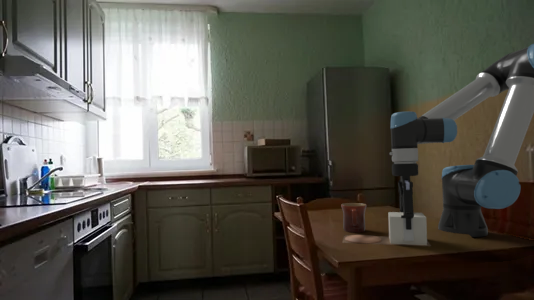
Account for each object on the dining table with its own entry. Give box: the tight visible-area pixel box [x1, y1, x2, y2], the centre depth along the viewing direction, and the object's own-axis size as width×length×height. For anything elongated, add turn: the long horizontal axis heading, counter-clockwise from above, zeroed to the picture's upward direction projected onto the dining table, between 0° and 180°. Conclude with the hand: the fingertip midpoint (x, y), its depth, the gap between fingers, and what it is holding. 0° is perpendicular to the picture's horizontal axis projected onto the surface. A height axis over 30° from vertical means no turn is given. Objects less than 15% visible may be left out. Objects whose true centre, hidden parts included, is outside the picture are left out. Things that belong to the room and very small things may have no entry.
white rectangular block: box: [387, 211, 428, 246], centre depth 112 cm, size 10×9×8 cm
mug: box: [340, 202, 367, 234], centre depth 129 cm, size 12×9×10 cm
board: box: [342, 234, 432, 247], centre depth 114 cm, size 25×11×2 cm, turn 75°
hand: (406, 236), depth 112 cm, fingers closed on white rectangular block, 9 cm apart
